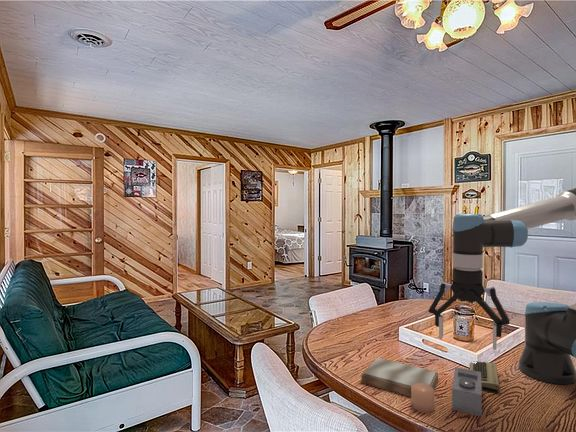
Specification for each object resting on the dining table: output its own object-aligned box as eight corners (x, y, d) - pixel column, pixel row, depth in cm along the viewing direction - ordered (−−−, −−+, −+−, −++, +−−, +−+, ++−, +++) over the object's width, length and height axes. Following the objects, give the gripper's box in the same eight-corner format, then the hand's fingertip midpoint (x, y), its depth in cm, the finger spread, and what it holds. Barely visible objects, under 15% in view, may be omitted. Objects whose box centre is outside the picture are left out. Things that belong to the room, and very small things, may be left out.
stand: (438, 380, 110) (438, 371, 109) (428, 401, 98) (428, 391, 98) (376, 365, 121) (376, 356, 120) (361, 382, 109) (361, 373, 109)
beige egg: (436, 404, 97) (436, 386, 97) (431, 415, 92) (431, 396, 92) (414, 398, 100) (414, 381, 100) (408, 408, 95) (408, 390, 95)
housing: (455, 386, 107) (455, 364, 106) (481, 391, 103) (481, 369, 103) (452, 410, 94) (452, 385, 94) (481, 417, 91) (481, 391, 91)
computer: (469, 367, 119) (469, 357, 119) (496, 372, 116) (496, 362, 115) (469, 388, 105) (469, 378, 105) (500, 395, 102) (500, 384, 102)
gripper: (520, 270, 94) (519, 347, 95) (424, 262, 108) (423, 330, 108) (520, 275, 88) (519, 357, 88) (418, 266, 101) (418, 337, 102)
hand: (466, 342), depth 98 cm, fingers open, 13 cm apart
